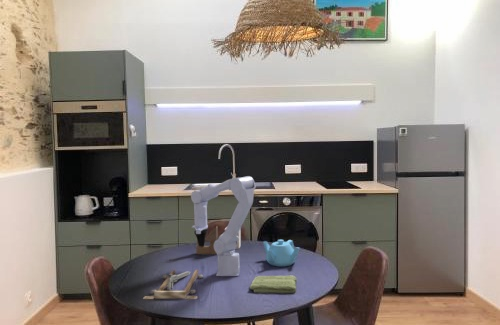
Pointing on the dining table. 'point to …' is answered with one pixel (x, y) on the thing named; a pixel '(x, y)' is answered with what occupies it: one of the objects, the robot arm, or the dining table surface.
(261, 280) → the washcloth
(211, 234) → the brown wooden frame
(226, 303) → the dining table surface
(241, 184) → the robot arm
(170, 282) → the caliper
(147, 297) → the rails
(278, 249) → the teapot
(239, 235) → the small box
